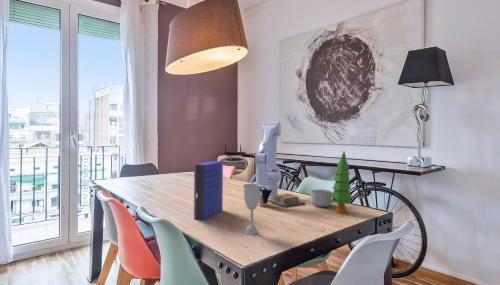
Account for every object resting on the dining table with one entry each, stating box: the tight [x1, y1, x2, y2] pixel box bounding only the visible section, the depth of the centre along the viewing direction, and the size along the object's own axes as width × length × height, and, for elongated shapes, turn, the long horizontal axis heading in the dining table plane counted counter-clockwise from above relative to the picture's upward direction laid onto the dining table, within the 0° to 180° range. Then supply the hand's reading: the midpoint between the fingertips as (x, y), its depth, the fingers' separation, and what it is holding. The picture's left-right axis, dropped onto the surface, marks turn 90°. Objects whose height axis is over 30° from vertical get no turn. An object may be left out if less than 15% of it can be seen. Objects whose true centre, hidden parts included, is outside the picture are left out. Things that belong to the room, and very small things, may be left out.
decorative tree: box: [331, 151, 352, 215], centre depth 144 cm, size 10×9×30 cm
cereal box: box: [193, 160, 224, 221], centre depth 138 cm, size 17×5×24 cm, turn 157°
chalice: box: [242, 183, 261, 236], centre depth 114 cm, size 7×7×18 cm
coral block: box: [256, 192, 269, 207], centre depth 157 cm, size 5×5×6 cm
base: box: [268, 193, 306, 208], centre depth 161 cm, size 14×14×4 cm
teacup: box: [310, 189, 334, 208], centre depth 156 cm, size 14×11×8 cm
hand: (261, 201), depth 157 cm, fingers open, 7 cm apart
